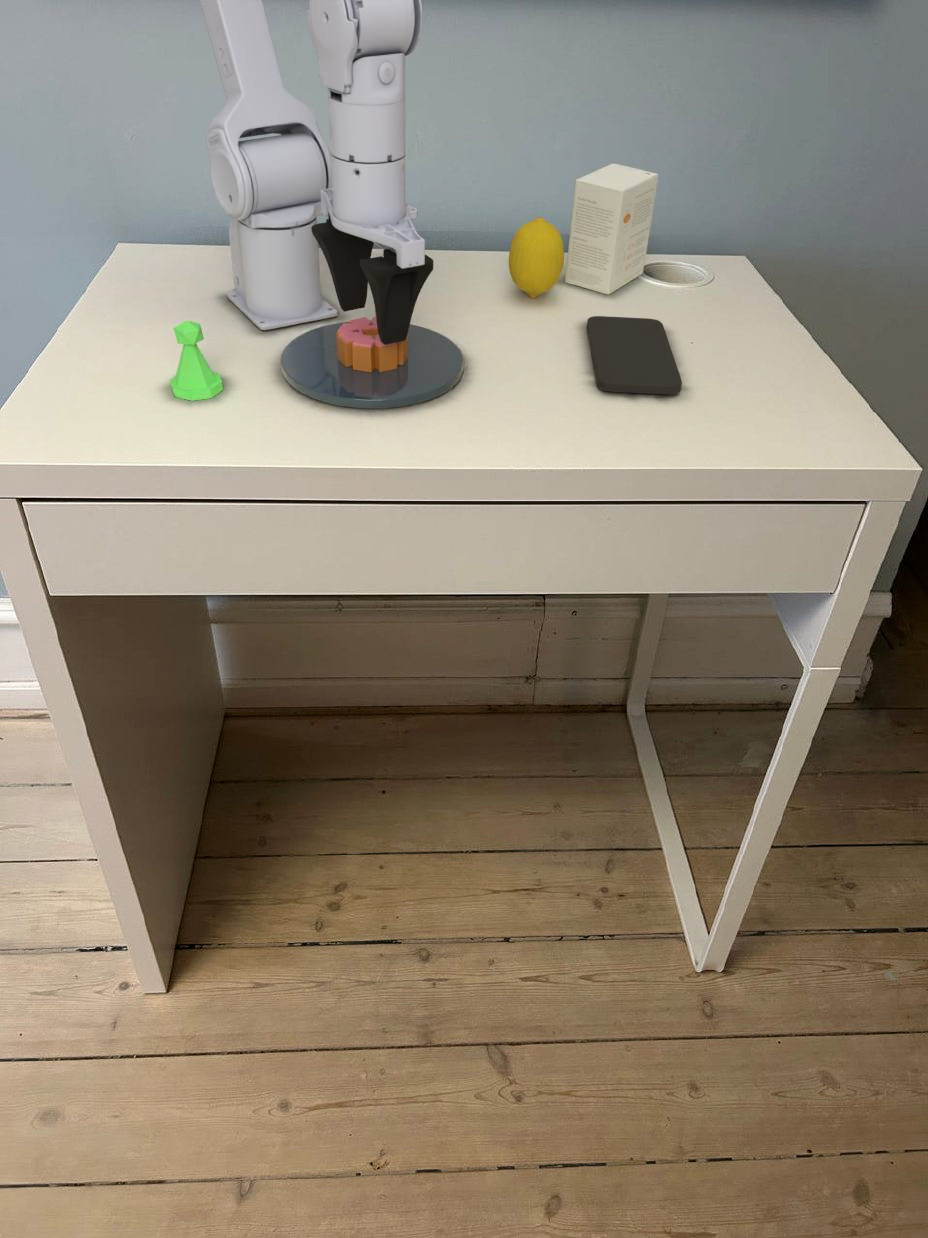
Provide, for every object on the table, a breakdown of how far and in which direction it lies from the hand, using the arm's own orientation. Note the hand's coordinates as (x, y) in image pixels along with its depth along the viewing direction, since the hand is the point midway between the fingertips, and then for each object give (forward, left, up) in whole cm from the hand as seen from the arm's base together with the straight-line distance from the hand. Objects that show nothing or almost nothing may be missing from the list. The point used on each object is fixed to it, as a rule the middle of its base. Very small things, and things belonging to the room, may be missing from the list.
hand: (372, 324), depth 82 cm
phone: (+9, +22, -4) cm, 24 cm away
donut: (0, 0, -3) cm, 3 cm away
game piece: (-3, -15, -4) cm, 16 cm away
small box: (-8, +32, -4) cm, 33 cm away
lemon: (-7, +22, -4) cm, 23 cm away
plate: (0, 0, -4) cm, 4 cm away
